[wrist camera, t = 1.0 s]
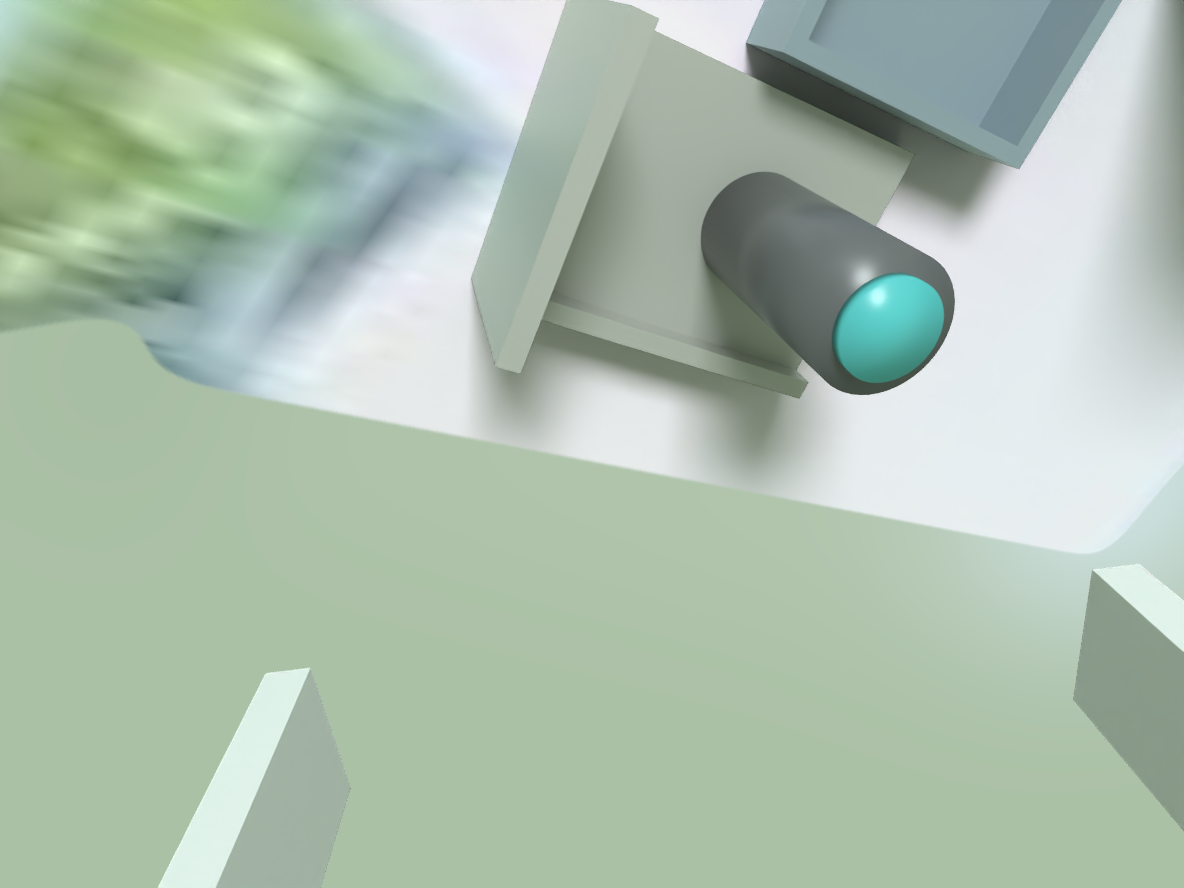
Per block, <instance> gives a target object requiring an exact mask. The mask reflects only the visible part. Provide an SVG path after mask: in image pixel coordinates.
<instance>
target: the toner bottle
mask: <svg viewBox="0 0 1184 888" xmlns="http://www.w3.org/2000/svg"><path fill="white" fill-rule="evenodd" d="M701 249H702V253H703V256H704V259H705V261H706V263H707V265H708V266H709V268H710V269H711V271H712V272H713V273H714V274H715V275H716V276H717V277H718V278H719V279H720V280H721V281H722V282H723V283H724V284H725V285H727V286H728V287H729V288H730V289H731V290H732V291H733V292H734V293H735V294H736V295H737V296H738V297H739V298H740V299H741V300H742V301H743V302H744V303H745V304H746V305H747V306H748V307H749V308H750V309H751V310H752V311H753V312H755V313H756V314H757V315H758V316H759V317H760V318H761V319H762V320H763V321H764V322H765V323H766V324H767V325H768V326H769V327H770V328H771V329H772V330H773V331H774V332H775V333H776V334H777V335H778V336H779V337H780V338H781V339H783V340H784V341H785V342H786V343H787V344H788V345H789V346H790V347H791V348H792V349H793V350H794V351H795V352H796V353H797V354H798V355H799V356H800V357H801V358H802V359H803V360H804V361H805V362H806V363H807V364H808V365H809V366H811V367H812V368H813V369H814V370H815V371H816V372H817V373H818V374H819V375H820V376H821V377H822V378H823V379H824V380H825V381H826V382H827V383H828V384H830V385H831V386H833V387H834V388H836V389H838V390H840V391H842V392H845V393H850V394H856V395H870V394H876V393H880V392H884V391H887V390H890V389H892V388H894V387H897V386H899V385H900V384H902V383H904V382H906V381H907V380H909V379H910V378H912V377H913V376H914V375H916V374H917V373H918V372H919V371H921V370H922V369H923V368H924V367H925V366H926V365H927V364H928V363H929V362H930V360H931V359H932V358H933V357H934V356H935V354H936V353H937V351H938V350H939V349H940V347H941V345H942V344H943V342H944V340H945V338H946V336H947V334H948V331H949V329H950V326H951V323H952V319H953V314H954V305H955V298H954V290H953V285H952V282H951V280H950V277H949V275H948V274H947V272H946V270H945V269H944V268H943V267H942V266H941V264H940V263H938V262H937V261H936V260H935V259H933V258H932V257H930V256H928V255H926V254H924V253H923V252H921V251H919V250H917V249H915V248H914V247H912V246H910V245H908V244H906V243H905V242H903V241H901V240H899V239H897V238H896V237H894V236H892V235H890V234H888V233H887V232H885V231H883V230H881V229H879V228H878V227H876V226H874V225H872V224H870V223H869V222H867V221H865V220H863V219H861V218H859V217H858V216H856V215H854V214H852V213H850V212H849V211H847V210H845V209H843V208H841V207H840V206H838V205H836V204H834V203H832V202H831V201H829V200H827V199H825V198H823V197H822V196H820V195H818V194H816V193H814V192H813V191H811V190H809V189H807V188H805V187H804V186H802V185H800V184H798V183H796V182H794V181H793V180H791V179H789V178H787V177H785V176H783V175H781V174H778V173H774V172H755V173H751V174H747V175H745V176H742V177H740V178H738V179H736V180H734V181H733V182H731V183H730V184H729V185H727V186H726V187H725V188H724V189H723V190H722V191H721V192H720V193H719V194H718V195H717V196H716V197H715V199H714V200H713V202H712V203H711V205H710V207H709V208H708V210H707V212H706V215H705V217H704V220H703V224H702V229H701Z"/></svg>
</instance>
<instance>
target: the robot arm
mask: <svg viewBox="0 0 1184 888" xmlns="http://www.w3.org/2000/svg"><path fill="white" fill-rule="evenodd" d="M1073 700H1074V701H1075V702H1076V703H1077V705H1078V706H1079V707H1080V708H1081V709H1082V711H1083V712H1084V713H1085V714H1086V715H1087V717H1088V718H1089V719H1090V720H1091V721H1092V722H1093V724H1094V725H1095V726H1096V727H1097V729H1098V730H1099V731H1100V732H1101V733H1102V734H1103V736H1104V737H1105V738H1106V739H1107V740H1108V742H1109V743H1110V744H1111V745H1112V746H1113V747H1114V749H1115V750H1116V751H1117V752H1118V754H1120V756H1121V757H1122V758H1123V759H1124V761H1125V762H1126V763H1127V764H1128V765H1129V767H1130V768H1131V769H1132V770H1133V771H1134V773H1135V774H1136V775H1137V776H1138V777H1139V778H1140V780H1141V781H1142V782H1143V783H1144V784H1145V786H1146V787H1147V788H1148V789H1149V790H1150V792H1151V793H1152V794H1153V795H1154V796H1155V798H1156V799H1157V800H1158V801H1159V802H1160V803H1161V805H1162V806H1163V807H1164V808H1165V809H1166V811H1167V812H1168V813H1169V814H1170V815H1171V817H1172V818H1173V819H1174V820H1175V821H1176V823H1177V824H1178V825H1179V826H1180V827H1181V829H1182V830H1183V831H1184V601H1183V600H1182V599H1181V598H1180V597H1179V596H1177V595H1176V594H1175V593H1174V592H1172V591H1171V590H1170V589H1169V588H1168V587H1166V586H1165V585H1164V584H1163V583H1161V582H1160V581H1159V580H1158V579H1157V578H1155V577H1154V576H1153V575H1152V574H1150V573H1149V572H1148V571H1147V570H1146V569H1144V568H1143V567H1142V566H1141V565H1140V564H1133V565H1125V566H1117V567H1110V568H1101V569H1093V570H1092V575H1091V581H1090V589H1089V595H1088V602H1087V609H1086V616H1085V622H1084V629H1083V636H1082V642H1081V649H1080V656H1079V663H1078V670H1077V676H1076V683H1075V690H1074V697H1073ZM349 791H350V785H349V783H348V779H347V776H346V774H345V770H344V767H343V764H342V761H341V758H340V755H339V752H338V749H337V746H336V743H335V740H334V737H333V734H332V731H331V728H330V725H329V722H328V719H327V716H326V713H325V710H324V707H323V704H322V701H321V698H320V695H319V692H318V689H317V686H316V683H315V680H314V677H313V674H312V671H311V668H305V669H297V670H289V671H281V672H274V673H266V674H265V676H264V678H263V680H262V682H261V684H260V686H259V688H258V690H257V692H256V694H255V696H254V698H253V700H252V702H251V704H250V706H249V708H248V709H247V712H246V713H245V716H244V717H243V719H242V721H241V723H240V725H239V727H238V729H237V732H236V733H235V735H234V737H233V739H232V741H231V743H230V745H229V747H228V749H227V751H226V753H225V755H224V757H223V759H222V761H221V763H220V765H219V767H218V769H217V771H216V773H215V775H214V777H213V779H212V781H211V783H210V785H209V787H208V789H207V791H206V793H205V795H204V797H203V799H202V801H201V803H200V805H199V807H198V809H197V811H196V813H195V815H194V817H193V819H192V821H191V823H190V825H189V827H188V829H187V831H186V833H185V835H184V837H183V839H182V841H181V843H180V845H179V847H178V848H177V850H176V852H175V854H174V857H173V858H172V860H171V863H170V864H169V866H168V868H167V870H166V872H165V874H164V876H163V878H162V880H161V882H160V884H159V886H158V888H321V885H322V882H323V879H324V875H325V872H326V868H327V865H328V862H329V859H330V855H331V852H332V849H333V845H334V842H335V839H336V835H337V832H338V828H339V825H340V822H341V818H342V815H343V812H344V808H345V805H346V802H347V799H348V795H349Z"/></svg>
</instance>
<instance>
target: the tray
mask: <svg viewBox="0 0 1184 888" xmlns="http://www.w3.org/2000/svg"><path fill="white" fill-rule="evenodd" d="M1121 1H1122V0H765V1H764V3H763V5H762V8H761V10H760V12H759V15H758V17H757V19H756V21H755V24H754V26H753V28H752V31H751V33H750V35H749V37H748V40H747V42H746V43H747V44H750V45H752V46H754V47H756V48H758V49H760V50H762V51H764V52H766V53H768V54H770V55H772V56H774V57H776V58H778V59H780V60H782V61H784V62H786V63H788V64H790V65H792V66H794V67H796V68H798V69H800V70H802V71H804V72H806V73H809V74H811V75H813V76H815V77H817V78H819V79H821V80H823V81H825V82H827V83H829V84H831V85H833V86H835V87H837V88H839V89H841V90H843V91H845V92H847V93H849V94H851V95H853V96H855V97H857V98H859V99H861V100H863V101H865V102H867V103H870V104H872V105H874V106H876V107H878V108H880V109H882V110H884V111H886V112H888V113H890V114H892V115H894V116H896V117H898V118H900V119H902V120H904V121H906V122H908V123H910V124H912V125H914V126H916V127H918V128H920V129H922V130H924V131H926V132H929V133H931V134H933V135H935V136H937V137H939V138H941V139H943V140H945V141H947V142H949V143H951V144H953V145H955V146H957V147H959V148H961V149H963V150H965V151H967V152H970V153H973V154H976V155H979V156H982V157H985V158H988V159H990V160H993V161H996V162H999V163H1002V164H1005V165H1008V166H1011V167H1014V168H1017V169H1020V167H1021V166H1022V164H1023V162H1024V161H1025V159H1026V157H1027V156H1028V154H1029V152H1030V151H1031V149H1032V147H1033V146H1034V144H1035V143H1036V141H1037V139H1038V138H1039V136H1040V134H1041V133H1042V131H1043V129H1044V128H1045V126H1046V124H1047V123H1048V121H1049V119H1050V118H1051V116H1052V115H1053V113H1054V111H1055V110H1056V108H1057V106H1058V105H1059V103H1060V101H1061V100H1062V98H1063V96H1064V95H1065V93H1066V92H1067V90H1068V88H1069V87H1070V85H1071V83H1072V82H1073V80H1074V78H1075V77H1076V75H1077V73H1078V72H1079V70H1080V69H1081V67H1082V65H1083V64H1084V62H1085V60H1086V59H1087V57H1088V55H1089V54H1090V52H1091V50H1092V49H1093V47H1094V46H1095V44H1096V42H1097V41H1098V39H1099V37H1100V36H1101V34H1102V32H1103V31H1104V29H1105V27H1106V26H1107V24H1108V22H1109V21H1110V19H1111V18H1112V16H1113V14H1114V13H1115V11H1116V9H1117V8H1118V6H1119V4H1120V3H1121Z"/></svg>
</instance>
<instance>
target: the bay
mask: <svg viewBox="0 0 1184 888" xmlns="http://www.w3.org/2000/svg"><path fill="white" fill-rule="evenodd" d="M658 20H659V18H657V17H655V16H652V15H650V14H648V13H646V12H644V11H642V10H640V9H638V8H636V7H634V6H632V5H627V4H623V3H618V2H613V1H609V0H567V1H566V4H565V7H564V10H563V12H562V15H561V18H560V21H559V24H558V27H557V30H556V33H555V36H554V39H553V42H552V44H551V47H550V50H549V53H548V56H547V59H546V62H545V65H544V68H543V71H542V74H541V76H540V79H539V82H538V85H537V88H536V91H535V94H534V97H533V100H532V103H531V106H530V109H529V111H528V114H527V117H526V120H525V123H524V126H523V129H522V132H521V135H520V138H519V141H518V143H517V146H516V149H515V152H514V155H513V158H512V161H511V164H510V167H509V170H508V173H507V176H506V178H505V181H504V184H503V187H502V190H501V193H500V196H499V199H498V202H497V205H496V208H495V210H494V213H493V216H492V219H491V222H490V225H489V228H488V231H487V234H486V237H485V240H484V242H483V245H482V248H481V251H480V254H479V257H478V260H477V263H476V266H475V269H474V272H473V275H472V277H471V279H472V283H473V287H474V290H475V294H476V297H477V301H478V305H479V308H480V312H481V316H482V319H483V323H484V327H485V330H486V334H487V337H488V341H489V345H490V348H491V352H492V356H493V359H494V363H495V367H498V368H501V369H505V370H508V371H512V372H516V373H519V374H520V373H521V371H522V368H523V366H524V363H525V360H526V358H527V355H528V353H529V350H530V348H531V345H532V343H533V340H534V337H535V335H536V332H537V330H538V327H539V325H540V322H541V320H543V321H546V322H549V323H552V324H556V325H559V326H562V327H566V328H569V329H572V330H575V331H579V332H582V333H585V334H589V335H592V336H595V337H598V338H602V339H605V340H608V341H612V342H615V343H618V344H621V345H625V346H628V347H631V348H635V349H638V350H641V351H644V352H648V353H651V354H654V355H658V356H661V357H664V358H667V359H671V360H674V361H677V362H681V363H684V364H687V365H690V366H694V367H697V368H700V369H704V370H707V371H710V372H713V373H717V374H720V375H723V376H727V377H730V378H733V379H736V380H740V381H743V382H746V383H750V384H753V385H756V386H759V387H763V388H766V389H769V390H773V391H776V392H779V393H782V394H786V395H789V396H792V397H796V398H800V397H801V395H802V393H803V391H804V389H805V388H806V386H807V384H808V382H807V381H806V380H805V379H804V378H803V377H802V375H801V374H800V373H799V372H798V371H797V368H798V366H799V364H800V363H801V361H802V358H801V357H800V356H799V355H798V354H797V353H796V352H795V351H794V350H793V349H792V348H791V347H790V346H789V345H788V344H787V343H786V342H785V341H784V340H783V339H781V338H780V337H779V336H778V335H777V334H776V333H775V332H774V331H773V330H772V329H771V328H770V327H769V326H768V325H767V324H766V323H765V322H764V321H763V320H762V319H761V318H760V317H759V316H758V315H757V314H756V313H755V312H753V311H752V310H751V309H750V308H749V307H748V306H747V305H746V304H745V303H744V302H743V301H742V300H741V299H740V298H739V297H738V296H737V295H736V294H735V293H734V292H733V291H732V290H731V289H730V288H729V287H728V286H727V285H725V284H724V283H723V282H722V281H721V280H720V279H719V278H718V277H717V276H716V275H715V274H714V273H713V272H712V271H711V269H710V268H709V266H708V265H707V263H706V261H705V259H704V256H703V253H702V249H701V229H702V224H703V220H704V217H705V215H706V212H707V210H708V208H709V207H710V205H711V203H712V202H713V200H714V199H715V197H716V196H717V195H718V194H719V193H720V192H721V191H722V190H723V189H724V188H725V187H726V186H727V185H729V184H730V183H731V182H733V181H734V180H736V179H738V178H740V177H742V176H745V175H747V174H751V173H755V172H774V173H778V174H781V175H783V176H785V177H787V178H789V179H791V180H793V181H794V182H796V183H798V184H800V185H802V186H804V187H805V188H807V189H809V190H811V191H813V192H814V193H816V194H818V195H820V196H822V197H823V198H825V199H827V200H829V201H831V202H832V203H834V204H836V205H838V206H840V207H841V208H843V209H845V210H847V211H849V212H850V213H852V214H854V215H856V216H858V217H859V218H861V219H863V220H865V221H867V222H869V223H870V224H872V225H874V226H876V224H877V223H878V221H879V219H880V217H881V215H882V213H883V212H884V210H885V208H886V206H887V204H888V203H889V201H890V199H891V197H892V195H893V193H894V192H895V190H896V188H897V186H898V184H899V183H900V181H901V179H902V177H903V175H904V173H905V172H906V170H907V168H908V166H909V164H910V163H911V161H912V159H913V157H914V155H915V154H913V153H911V152H909V151H907V150H905V149H903V148H901V147H899V146H897V145H894V144H892V143H890V142H888V141H886V140H884V139H882V138H880V137H878V136H875V135H873V134H871V133H869V132H867V131H865V130H863V129H861V128H859V127H857V126H854V125H852V124H850V123H848V122H846V121H844V120H842V119H840V118H838V117H835V116H833V115H831V114H829V113H827V112H825V111H823V110H821V109H819V108H816V107H814V106H812V105H810V104H808V103H806V102H804V101H802V100H800V99H798V98H795V97H793V96H791V95H789V94H787V93H785V92H783V91H781V90H779V89H776V88H774V87H772V86H770V85H768V84H766V83H764V82H762V81H760V80H757V79H755V78H753V77H751V76H749V75H747V74H745V73H743V72H741V71H738V70H736V69H734V68H732V67H730V66H728V65H726V64H724V63H722V62H720V61H717V60H715V59H713V58H711V57H709V56H707V55H705V54H703V53H701V52H698V51H696V50H694V49H692V48H690V47H688V46H686V45H684V44H682V43H679V42H677V41H675V40H673V39H671V38H669V37H667V36H665V35H663V34H660V33H658V32H656V31H654V30H655V28H656V25H657V23H658Z"/></svg>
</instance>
